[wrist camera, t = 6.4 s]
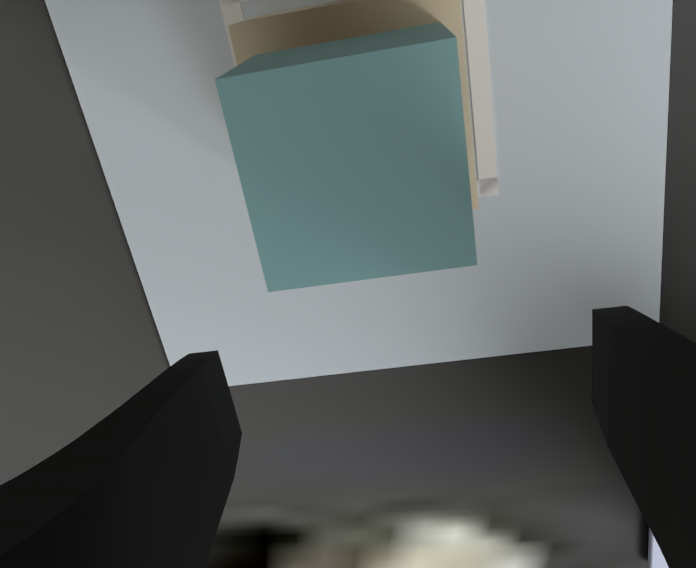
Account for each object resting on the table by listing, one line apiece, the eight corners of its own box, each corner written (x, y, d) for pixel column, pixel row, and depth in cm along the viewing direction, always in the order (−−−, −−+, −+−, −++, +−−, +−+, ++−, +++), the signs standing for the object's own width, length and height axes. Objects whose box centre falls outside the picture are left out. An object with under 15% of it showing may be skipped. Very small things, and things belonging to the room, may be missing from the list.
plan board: (675, -204, 16) (682, -208, 16) (654, 332, 23) (659, 338, 23) (29, -66, 19) (20, -67, 18) (181, 385, 25) (178, 392, 25)
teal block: (440, 22, 15) (456, 37, 11) (458, 203, 17) (477, 265, 13) (255, 54, 16) (214, 79, 12) (293, 226, 17) (268, 292, 14)
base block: (445, -20, 18) (458, -18, 15) (463, 167, 20) (478, 208, 17) (258, 15, 19) (228, 25, 15) (296, 192, 21) (277, 237, 18)
